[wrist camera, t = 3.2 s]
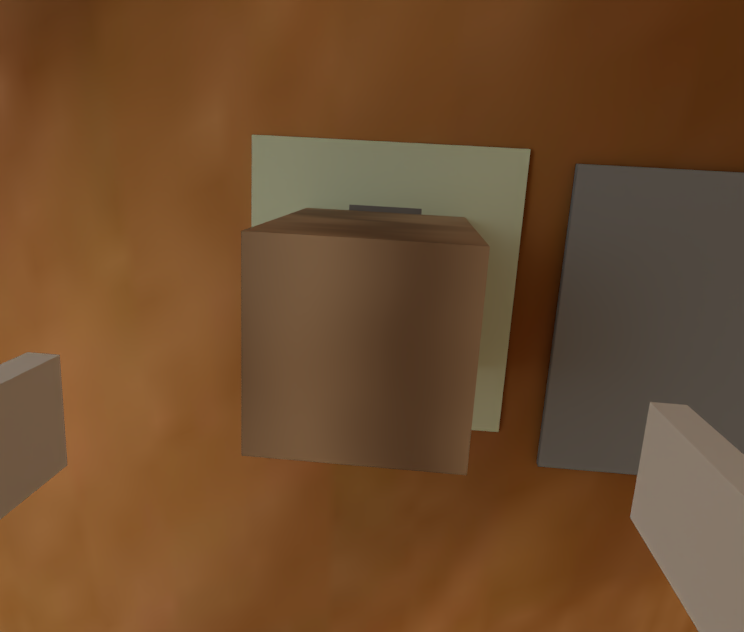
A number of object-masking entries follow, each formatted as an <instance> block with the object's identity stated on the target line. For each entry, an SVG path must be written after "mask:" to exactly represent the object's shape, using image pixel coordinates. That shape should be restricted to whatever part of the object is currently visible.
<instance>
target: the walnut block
mask: <svg viewBox="0 0 744 632" xmlns="http://www.w3.org/2000/svg"><path fill="white" fill-rule="evenodd" d="M489 251H490V246H489V245H488V244H487V242H486V241H485V240H484V239H483V238H482V237H481V235H480V234H479V233H478V232H477V231H476V230H475V228H474V227H473V226H472V225H471V224H470V223H469V221H468V220H467V219H466V218H465V217H454V216H437V215H420V214H404V213H387V212H370V211H353V210H337V209H320V208H304V209H302V210H299V211H296V212H293V213H290V214H288V215H285V216H282V217H279V218H276V219H274V220H271V221H268V222H265V223H262V224H259V225H257V226H254V227H251V228H248V229H245V230H243V231H241V332H242V456H253V457H264V458H276V459H287V460H299V461H310V462H322V463H333V464H344V465H356V466H367V467H379V468H390V469H402V470H413V471H424V472H436V473H447V474H459V475H467V468H468V458H469V448H470V439H471V429H472V419H473V409H474V399H475V389H476V379H477V369H478V360H479V350H480V340H481V330H482V320H483V310H484V300H485V291H486V281H487V271H488V261H489Z"/></svg>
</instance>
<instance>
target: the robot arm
mask: <svg viewBox="0 0 744 632" xmlns="http://www.w3.org/2000/svg"><path fill="white" fill-rule="evenodd" d="M66 466H67V453H66V439H65V424H64V410H63V396H62V382H61V367H60V355H55V354H43V353H30V352H27V353H25V354H23V355H20V356H18V357H16V358H14V359H11V360H9V361H7V362H5V363H2V364H0V519H2V518H3V517H4V516H5V515H7V514H8V513H9V512H10V511H11V510H13V509H14V508H15V507H16V506H18V505H19V504H20V503H21V502H23V501H24V500H25V499H26V498H27V497H29V496H30V495H31V494H32V493H34V492H35V491H36V490H37V489H39V488H40V487H41V486H42V485H43V484H45V483H46V482H47V481H48V480H50V479H51V478H52V477H53V476H55V475H56V474H57V473H58V472H59V471H61V470H62V469H63V468H64V467H66ZM630 518H631V520H632V522H633V523H634V525H635V527H636V528H637V530H638V532H639V533H640V535H641V537H642V538H643V540H644V542H645V543H646V545H647V547H648V548H649V550H650V552H651V553H652V555H653V556H654V558H655V560H656V561H657V563H658V565H659V566H660V568H661V570H662V571H663V573H664V575H665V576H666V578H667V580H668V581H669V583H670V585H671V586H672V588H673V590H674V591H675V593H676V595H677V596H678V598H679V600H680V601H681V603H682V605H683V606H684V608H685V610H686V611H687V613H688V615H689V616H690V618H691V620H692V621H693V623H694V625H695V626H696V628H697V630H698V631H699V632H744V454H743V453H741V452H740V451H739V450H738V449H737V448H736V447H735V446H733V445H732V444H731V443H730V442H729V441H728V440H727V439H725V438H724V437H723V436H722V435H721V434H720V433H719V432H717V431H716V430H715V429H714V428H713V427H712V426H711V425H709V424H708V423H707V422H706V421H705V420H704V419H703V418H701V417H700V416H699V415H698V414H697V413H696V412H695V411H693V410H692V409H691V408H690V407H689V406H688V405H682V404H669V403H657V402H650V405H649V410H648V416H647V422H646V428H645V434H644V439H643V445H642V451H641V457H640V463H639V468H638V474H637V480H636V486H635V492H634V497H633V503H632V509H631V515H630Z"/></svg>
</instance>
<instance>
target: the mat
mask: <svg viewBox="0 0 744 632" xmlns="http://www.w3.org/2000/svg"><path fill="white" fill-rule="evenodd" d="M650 402H657V403H669V404H682V405H688V406H689V407H690V408H691V409H692V410H693V411H695V412H696V413H697V414H698V415H699V416H700V417H701V418H703V419H704V420H705V421H706V422H707V423H708V424H709V425H711V426H712V427H713V428H714V429H715V430H716V431H717V432H719V433H720V434H721V435H722V436H723V437H724V438H725V439H727V440H728V441H729V442H730V443H731V444H732V445H733V446H735V447H736V448H737V449H738V450H739V451H740V452H741V453H743V454H744V173H740V172H721V171H702V170H684V169H665V168H646V167H627V166H609V165H590V164H576V167H575V175H574V183H573V190H572V198H571V205H570V213H569V220H568V228H567V236H566V243H565V251H564V258H563V266H562V273H561V281H560V289H559V296H558V304H557V311H556V319H555V326H554V334H553V341H552V349H551V357H550V364H549V372H548V379H547V387H546V394H545V402H544V410H543V417H542V425H541V432H540V440H539V447H538V455H537V465H538V466H539V467H551V468H563V469H574V470H586V471H598V472H609V473H621V474H633V475H637V474H638V468H639V463H640V457H641V451H642V445H643V439H644V434H645V428H646V422H647V416H648V410H649V405H650Z"/></svg>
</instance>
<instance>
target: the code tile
mask: <svg viewBox="0 0 744 632" xmlns="http://www.w3.org/2000/svg"><path fill="white" fill-rule="evenodd" d="M530 150H531V149H518V148H499V147H480V146H461V145H441V144H422V143H403V142H384V141H365V140H345V139H326V138H307V137H288V136H269V135H252V227H254V226H257V225H259V224H262V223H265V222H268V221H271V220H274V219H276V218H279V217H282V216H285V215H288V214H290V213H293V212H296V211H299V210H302V209H304V208H320V209H337V210H353V211H370V212H387V213H404V214H420V215H437V216H454V217H465V218H466V219H467V220H468V221H469V223H470V224H471V225H472V226H473V227H474V228H475V230H476V231H477V232H478V233H479V234H480V235H481V237H482V238H483V239H484V240H485V241H486V242H487V244H488V245H489V246H490V251H489V261H488V271H487V281H486V291H485V300H484V310H483V320H482V330H481V340H480V350H479V360H478V369H477V379H476V389H475V399H474V409H473V419H472V429H471V430H479V431H491V432H499V423H500V415H501V406H502V397H503V388H504V379H505V371H506V362H507V353H508V344H509V335H510V327H511V318H512V309H513V300H514V291H515V283H516V274H517V265H518V256H519V247H520V238H521V230H522V221H523V212H524V203H525V194H526V186H527V177H528V168H529V159H530Z"/></svg>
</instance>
